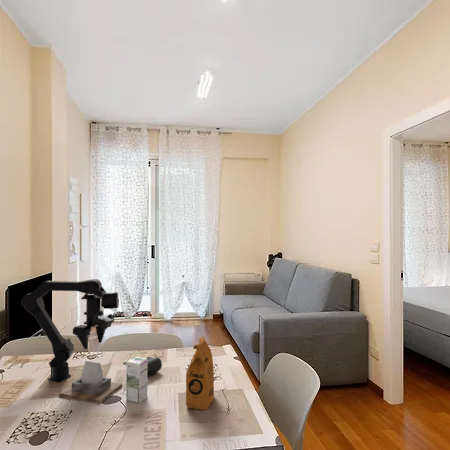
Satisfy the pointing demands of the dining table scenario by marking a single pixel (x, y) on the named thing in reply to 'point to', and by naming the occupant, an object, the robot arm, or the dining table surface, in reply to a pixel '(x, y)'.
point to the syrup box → (136, 379)
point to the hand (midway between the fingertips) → (93, 345)
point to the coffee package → (200, 378)
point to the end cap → (153, 365)
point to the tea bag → (92, 373)
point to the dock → (91, 390)
